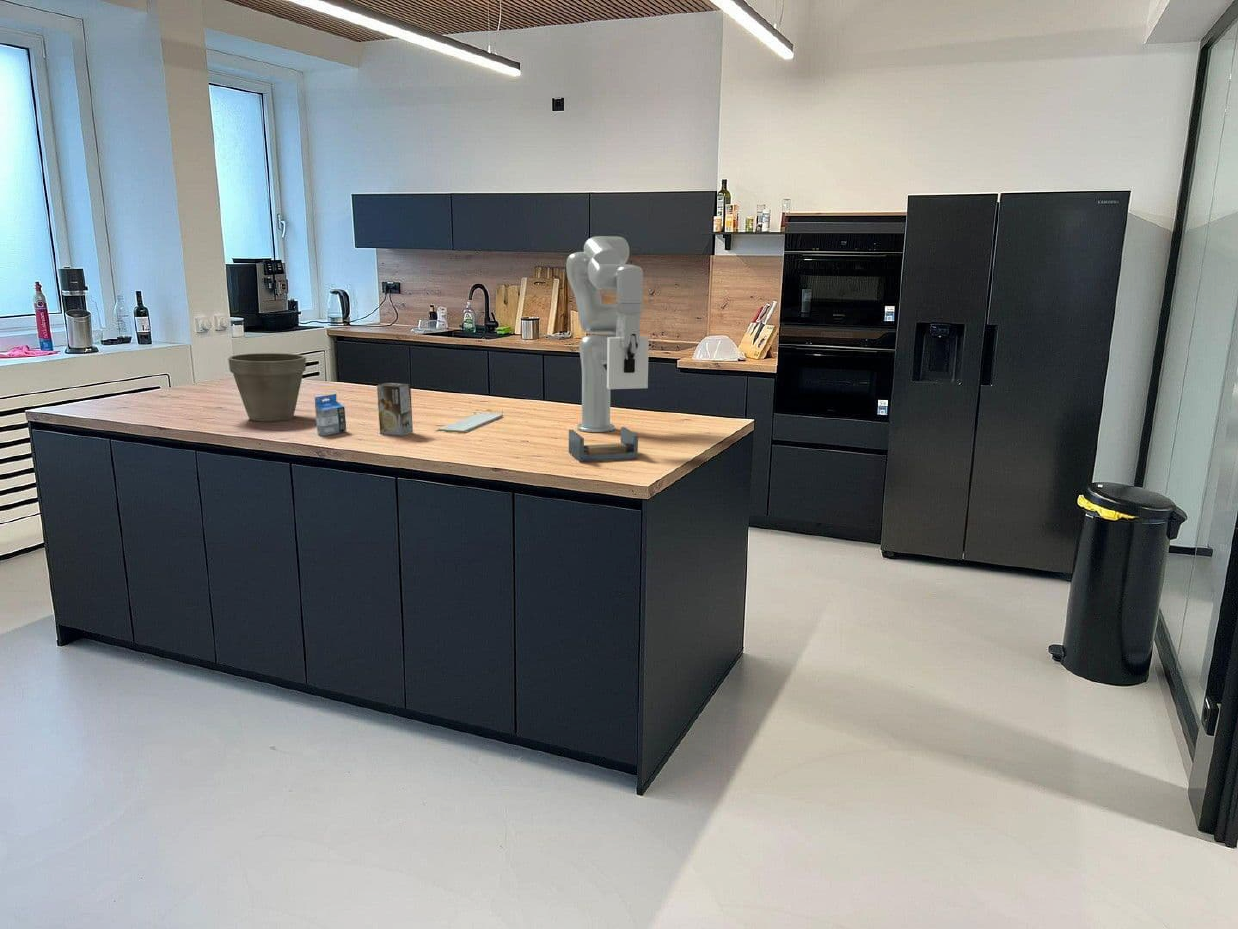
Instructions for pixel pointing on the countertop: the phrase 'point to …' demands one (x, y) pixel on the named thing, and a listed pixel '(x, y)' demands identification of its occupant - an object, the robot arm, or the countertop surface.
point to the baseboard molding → (470, 422)
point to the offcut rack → (578, 453)
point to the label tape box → (329, 415)
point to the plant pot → (268, 383)
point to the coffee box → (395, 409)
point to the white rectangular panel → (616, 365)
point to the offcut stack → (605, 448)
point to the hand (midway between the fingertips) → (627, 371)
